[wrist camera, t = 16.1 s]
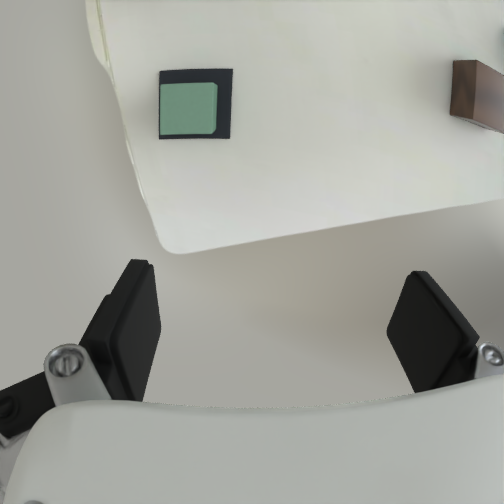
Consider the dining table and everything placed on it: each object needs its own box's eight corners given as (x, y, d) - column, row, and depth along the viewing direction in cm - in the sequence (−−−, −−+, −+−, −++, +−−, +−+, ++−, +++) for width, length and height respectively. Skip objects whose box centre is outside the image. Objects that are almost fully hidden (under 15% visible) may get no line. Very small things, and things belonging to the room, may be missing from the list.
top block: (172, 86, 28) (160, 84, 24) (217, 85, 29) (213, 82, 24) (171, 129, 31) (160, 134, 26) (216, 129, 31) (211, 133, 27)
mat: (160, 71, 28) (159, 71, 27) (232, 69, 28) (232, 68, 28) (159, 139, 31) (158, 139, 31) (229, 138, 32) (229, 138, 32)
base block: (453, 60, 26) (476, 59, 22) (491, 79, 27) (513, 81, 22) (449, 114, 30) (472, 119, 26) (486, 128, 30) (509, 135, 26)
